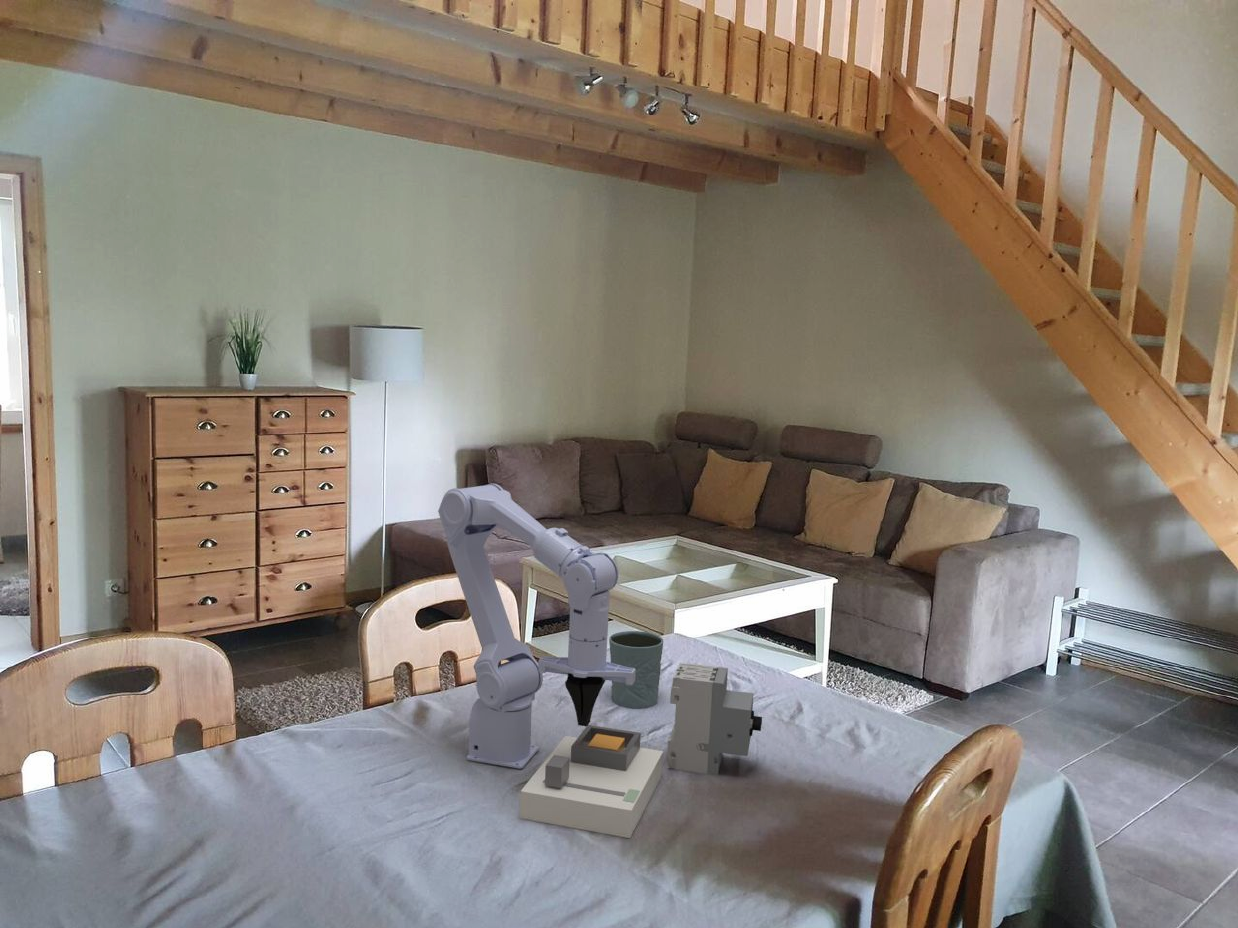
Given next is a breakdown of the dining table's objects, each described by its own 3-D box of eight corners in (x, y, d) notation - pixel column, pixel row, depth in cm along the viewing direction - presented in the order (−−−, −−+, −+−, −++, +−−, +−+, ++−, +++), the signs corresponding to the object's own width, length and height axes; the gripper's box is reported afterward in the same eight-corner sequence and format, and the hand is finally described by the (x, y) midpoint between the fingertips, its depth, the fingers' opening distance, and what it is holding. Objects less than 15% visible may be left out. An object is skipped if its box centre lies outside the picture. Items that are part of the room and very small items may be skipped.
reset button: (587, 757, 145) (587, 745, 144) (595, 745, 149) (596, 733, 149) (616, 762, 143) (617, 749, 143) (624, 750, 148) (624, 738, 148)
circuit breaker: (756, 780, 149) (763, 688, 147) (666, 768, 152) (671, 677, 150) (759, 760, 156) (765, 672, 154) (673, 749, 159) (678, 662, 157)
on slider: (544, 785, 135) (545, 765, 134) (553, 774, 138) (554, 754, 138) (560, 788, 134) (561, 767, 134) (568, 777, 138) (569, 757, 137)
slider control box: (519, 817, 134) (521, 773, 133) (564, 759, 153) (566, 720, 152) (630, 838, 130) (632, 792, 129) (661, 775, 149) (664, 735, 148)
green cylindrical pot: (660, 711, 175) (664, 648, 173) (605, 708, 175) (608, 645, 173) (659, 691, 185) (662, 631, 183) (607, 688, 185) (609, 628, 183)
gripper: (532, 637, 139) (529, 726, 141) (629, 650, 136) (624, 740, 138) (548, 624, 146) (544, 709, 148) (640, 635, 143) (635, 722, 144)
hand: (584, 723), depth 143 cm, fingers closed
